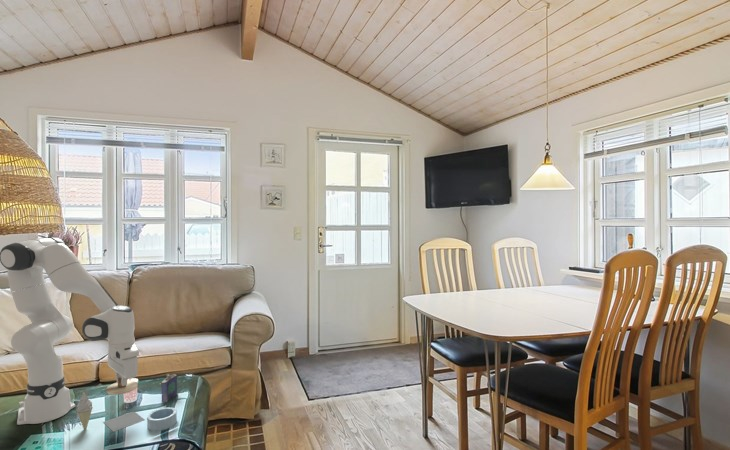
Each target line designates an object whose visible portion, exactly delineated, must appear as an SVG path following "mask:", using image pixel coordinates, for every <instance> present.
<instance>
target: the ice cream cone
mask: <svg viewBox="0 0 730 450" xmlns="http://www.w3.org/2000/svg"><path fill="white" fill-rule="evenodd" d="M75 407H76V409H75V410H76V413H77V415H78V418H79V421H80V423H81V425H82V426H81V427H82V429H83V430H84V431H86V430H87V428H88V424H89V421H90V418H91V414H92V411H93V409H94V408H93V402H92V400H91V399H89V397H88V395H87V394H86V392H85V391H83V392H82V394H81V396H80V398H79V402H78V403H77V405H75Z"/></svg>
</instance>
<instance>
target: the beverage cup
mask: <svg viewBox="0 0 730 450" xmlns="http://www.w3.org/2000/svg"><path fill="white" fill-rule="evenodd" d="M127 381H136V382H137V385H138V383H139V379H138V378H137V377H134V378H130V379H128V380H127ZM123 399H124V400H123V401H124V403H125V404H130V403H134V402H136V401H138V387H137V388H136V389H135V390H133V391H131V392H128V393H124V394H123Z"/></svg>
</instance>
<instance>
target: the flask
mask: <svg viewBox="0 0 730 450" xmlns="http://www.w3.org/2000/svg"><path fill="white" fill-rule="evenodd" d="M165 376H166V378H165V379H164V380H162V381H161V382H160V383H161V402H162V403H165V402H168V401H169V399H170V400H172V399H173V398H174V397H175V396H177V395H178V374H169V373H166V375H165Z"/></svg>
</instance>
